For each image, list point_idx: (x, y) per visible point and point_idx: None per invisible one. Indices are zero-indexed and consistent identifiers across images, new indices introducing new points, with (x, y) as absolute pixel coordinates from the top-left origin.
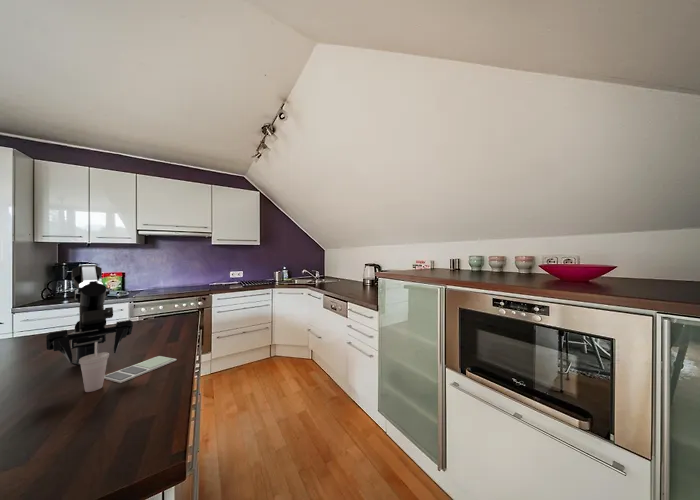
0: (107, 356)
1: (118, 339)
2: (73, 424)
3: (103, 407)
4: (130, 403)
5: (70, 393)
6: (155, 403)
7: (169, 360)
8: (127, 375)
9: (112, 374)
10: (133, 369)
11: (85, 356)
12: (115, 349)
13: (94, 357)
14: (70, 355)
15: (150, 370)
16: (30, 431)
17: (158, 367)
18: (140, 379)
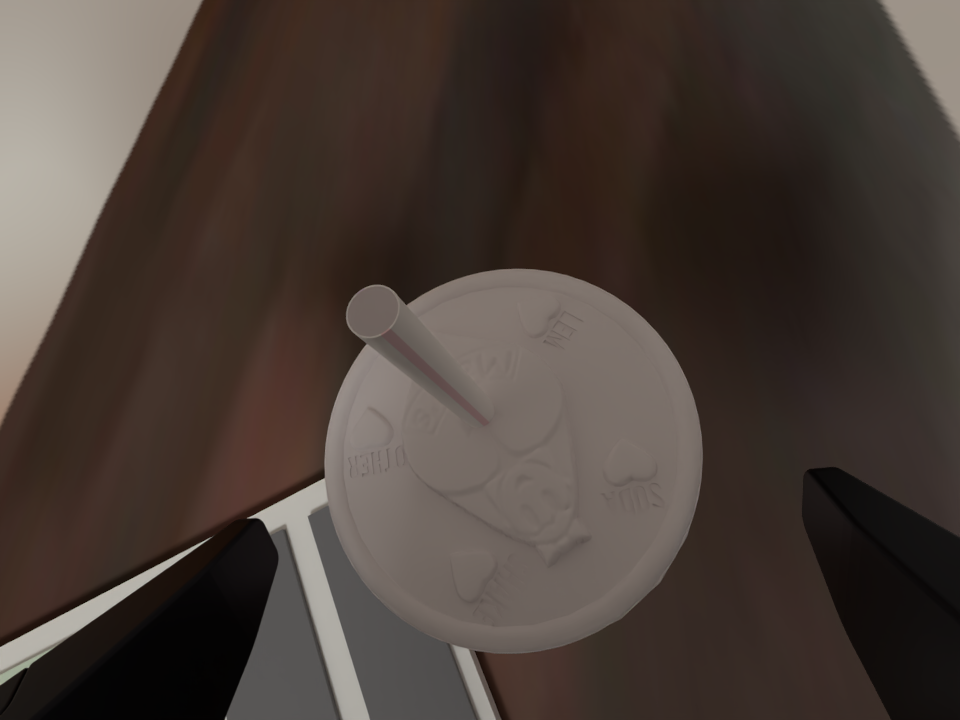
0: (360, 380)
1: (1, 697)
2: (611, 18)
3: (496, 117)
4: (386, 85)
5: (722, 536)
6: (304, 23)
7: (17, 666)
8: (331, 543)
9: (424, 712)
10: (268, 689)
11: (629, 573)
12: (224, 534)
13: (494, 340)
14: (894, 525)
15: (188, 551)
16: (802, 56)
17: (130, 581)
18: (283, 414)
